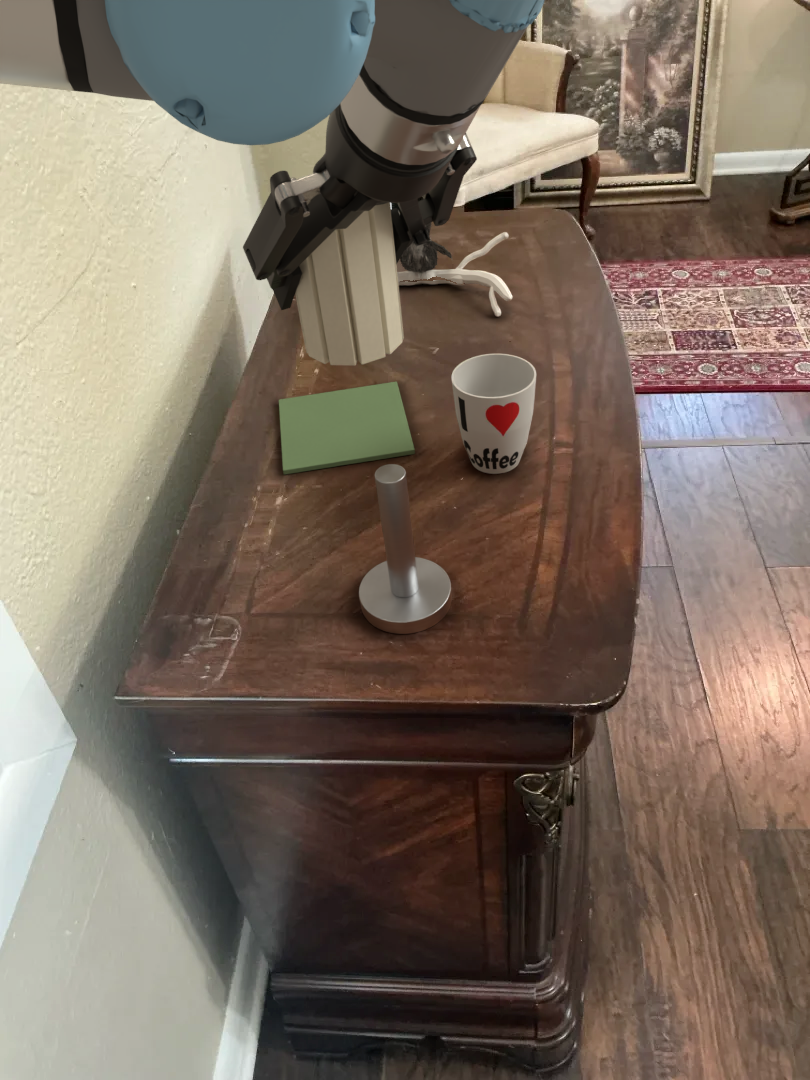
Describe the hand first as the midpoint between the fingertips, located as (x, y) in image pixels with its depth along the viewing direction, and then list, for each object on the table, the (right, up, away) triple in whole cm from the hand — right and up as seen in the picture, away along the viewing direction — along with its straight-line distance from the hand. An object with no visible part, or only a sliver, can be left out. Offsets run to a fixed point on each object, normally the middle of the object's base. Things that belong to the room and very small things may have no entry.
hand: (330, 277), depth 70 cm
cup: (+16, -13, +19) cm, 28 cm away
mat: (-1, -9, +26) cm, 27 cm away
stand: (+6, -27, +5) cm, 28 cm away
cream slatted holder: (+2, -5, +1) cm, 5 cm away
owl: (+8, +11, +48) cm, 50 cm away
